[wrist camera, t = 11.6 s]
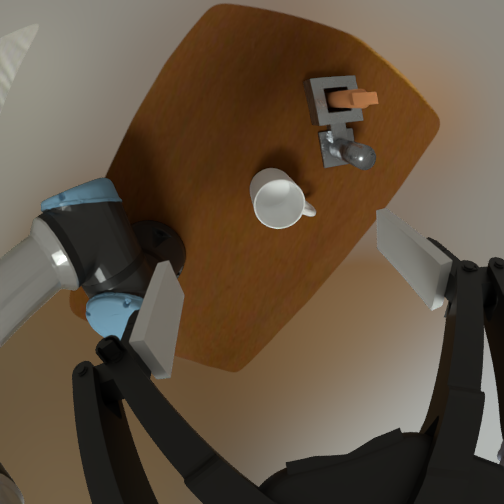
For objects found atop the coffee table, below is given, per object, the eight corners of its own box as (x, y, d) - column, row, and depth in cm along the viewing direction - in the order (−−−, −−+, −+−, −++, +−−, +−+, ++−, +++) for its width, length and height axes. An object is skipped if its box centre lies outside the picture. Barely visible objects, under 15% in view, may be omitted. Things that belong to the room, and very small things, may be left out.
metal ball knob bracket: (319, 167, 50) (343, 183, 40) (302, 81, 42) (324, 73, 31) (358, 160, 50) (389, 174, 39) (344, 77, 42) (374, 71, 31)
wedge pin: (320, 108, 45) (354, 109, 31) (316, 93, 43) (351, 88, 30) (339, 106, 44) (378, 107, 31) (336, 92, 43) (375, 87, 30)
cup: (258, 161, 49) (265, 171, 40) (315, 182, 52) (332, 198, 43) (243, 200, 52) (246, 219, 44) (298, 219, 55) (312, 241, 46)
